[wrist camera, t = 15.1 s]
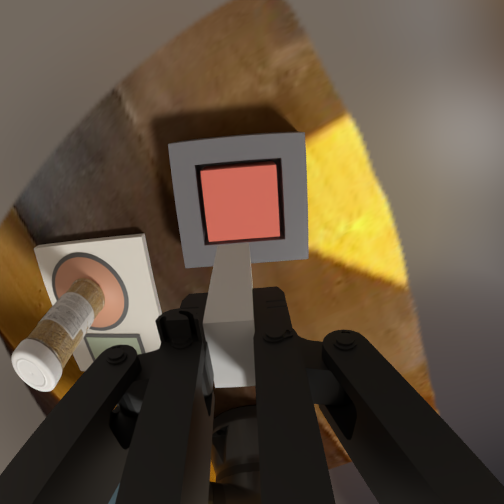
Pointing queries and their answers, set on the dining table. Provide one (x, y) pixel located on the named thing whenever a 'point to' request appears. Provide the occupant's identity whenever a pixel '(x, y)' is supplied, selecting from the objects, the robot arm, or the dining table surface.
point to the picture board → (107, 290)
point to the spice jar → (58, 335)
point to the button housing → (232, 152)
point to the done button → (241, 200)
